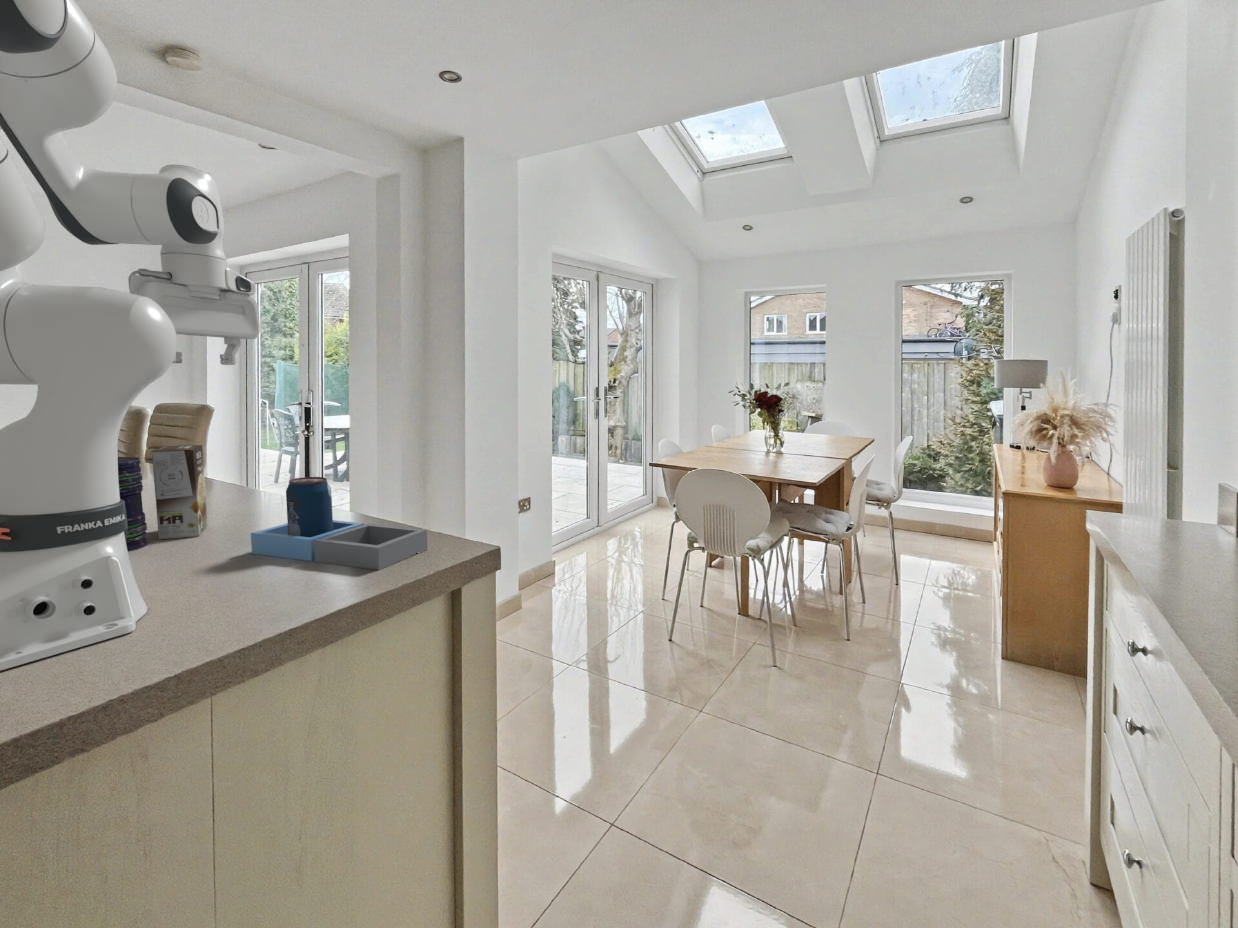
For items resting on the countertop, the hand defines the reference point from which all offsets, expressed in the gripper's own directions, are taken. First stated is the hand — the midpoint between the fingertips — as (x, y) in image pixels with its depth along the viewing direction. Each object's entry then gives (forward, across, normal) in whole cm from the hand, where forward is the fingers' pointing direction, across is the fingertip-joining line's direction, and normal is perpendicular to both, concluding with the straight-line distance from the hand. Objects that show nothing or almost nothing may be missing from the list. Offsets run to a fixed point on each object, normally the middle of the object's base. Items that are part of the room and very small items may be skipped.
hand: (202, 364), depth 103 cm
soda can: (+31, +6, -15) cm, 35 cm away
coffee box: (+31, +6, +15) cm, 35 cm away
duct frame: (+31, +6, -21) cm, 38 cm away
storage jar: (+31, -6, +16) cm, 36 cm away
